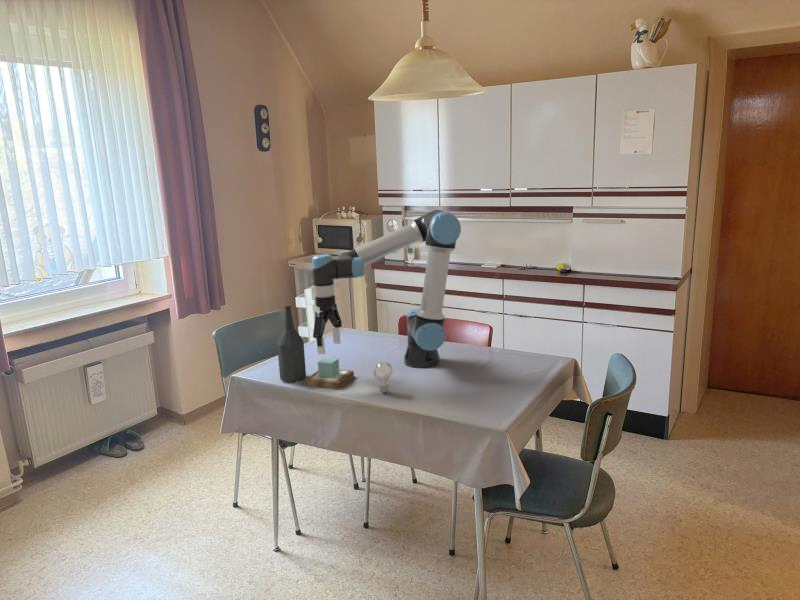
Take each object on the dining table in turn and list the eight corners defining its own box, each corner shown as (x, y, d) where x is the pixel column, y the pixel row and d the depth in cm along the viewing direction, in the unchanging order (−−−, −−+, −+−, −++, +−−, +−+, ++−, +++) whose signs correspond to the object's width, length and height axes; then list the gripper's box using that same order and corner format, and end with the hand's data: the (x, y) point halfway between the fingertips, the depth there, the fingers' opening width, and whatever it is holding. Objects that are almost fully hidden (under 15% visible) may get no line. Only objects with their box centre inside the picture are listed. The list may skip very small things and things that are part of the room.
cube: (339, 372, 241) (338, 358, 240) (332, 378, 236) (331, 363, 234) (325, 371, 243) (324, 357, 242) (318, 376, 238) (317, 362, 236)
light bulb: (378, 397, 222) (377, 366, 219) (371, 391, 228) (370, 360, 225) (396, 394, 224) (395, 363, 222) (389, 388, 231) (387, 357, 228)
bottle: (297, 384, 238) (292, 309, 231) (275, 381, 242) (269, 308, 235) (310, 375, 248) (305, 303, 241) (289, 373, 251) (283, 302, 244)
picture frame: (353, 376, 244) (353, 370, 244) (338, 389, 231) (338, 382, 231) (322, 373, 249) (322, 367, 248) (306, 385, 236) (305, 379, 235)
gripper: (330, 288, 245) (334, 338, 250) (300, 302, 222) (305, 358, 227) (347, 288, 242) (351, 339, 247) (318, 303, 220) (323, 359, 225)
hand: (329, 348), depth 237 cm, fingers open, 13 cm apart
